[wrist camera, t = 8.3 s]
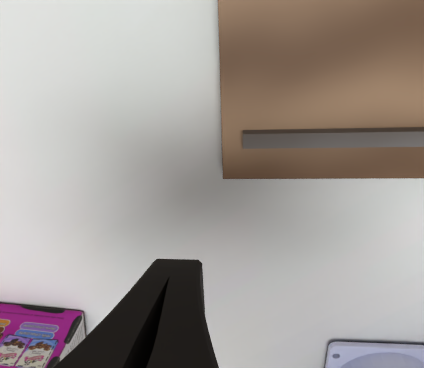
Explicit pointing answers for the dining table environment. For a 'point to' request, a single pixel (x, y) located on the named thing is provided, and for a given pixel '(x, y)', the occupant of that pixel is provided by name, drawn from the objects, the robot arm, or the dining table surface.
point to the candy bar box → (38, 335)
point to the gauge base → (322, 88)
